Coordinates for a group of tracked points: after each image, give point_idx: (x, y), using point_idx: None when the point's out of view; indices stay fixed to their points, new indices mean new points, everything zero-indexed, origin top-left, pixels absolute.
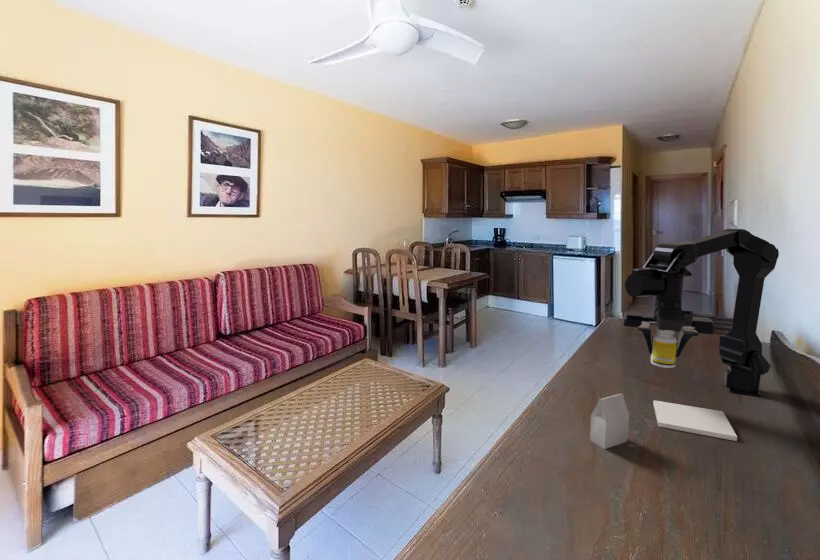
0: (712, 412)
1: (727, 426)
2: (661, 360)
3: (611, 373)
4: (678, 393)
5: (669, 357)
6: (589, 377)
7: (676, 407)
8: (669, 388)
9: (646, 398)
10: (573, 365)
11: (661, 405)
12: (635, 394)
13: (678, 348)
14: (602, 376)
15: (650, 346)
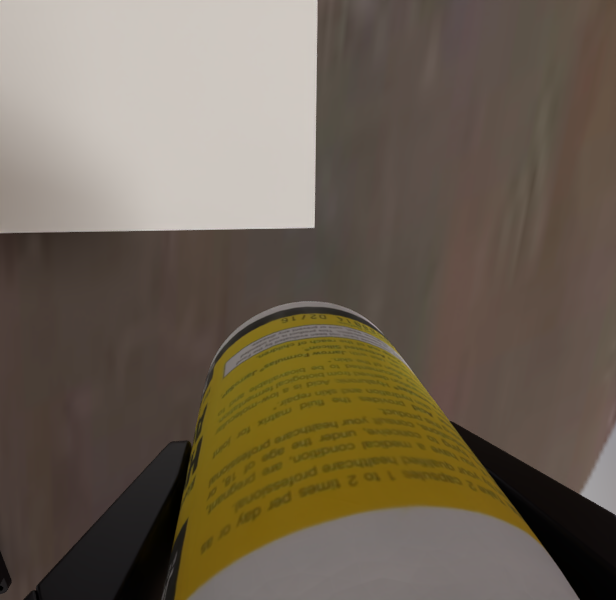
0: (38, 192)
1: None
2: (344, 325)
3: None
4: (194, 398)
5: (272, 355)
6: (536, 397)
7: (212, 180)
8: None
9: (334, 278)
10: (573, 486)
11: (282, 173)
12: (376, 302)
13: (153, 526)
14: (482, 431)
15: (508, 473)
